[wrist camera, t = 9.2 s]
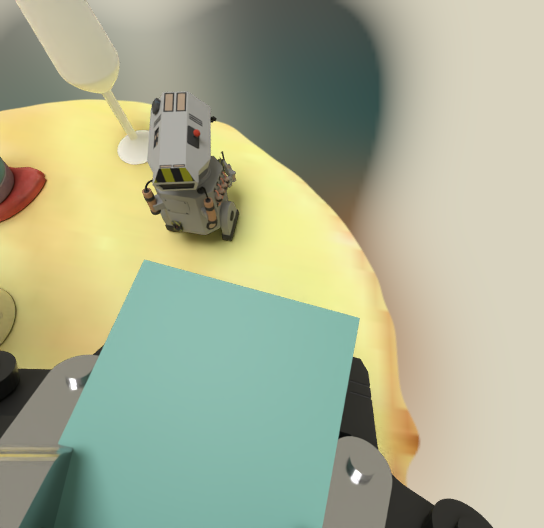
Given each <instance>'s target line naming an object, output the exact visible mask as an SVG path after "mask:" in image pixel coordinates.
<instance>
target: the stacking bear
mask: <svg viewBox="0 0 544 528" xmlns="http://www.w3.org/2000/svg"><path fill="white" fill-rule="evenodd" d="M44 183H45V178H44V174H43V173H42V172H41V171H39V170H37V169H34V168H31V167H21V168H12V167H8V166H7V165H6V163H5V162H4V161H3V160H2V158H1V157H0V221H3V220H5V219H8V218H10V217H11V216H13V215H15V214H16V213H18V212H19V211H21V210H22V209H23V208H24V207H26V206H27V205H28V204H29V203H30V202H31V201H32V200H33V199H34V198H35V197H36V196H37V194H38V193H39V192H40V190H41V189H42V187H43V186H44Z"/></svg>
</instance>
